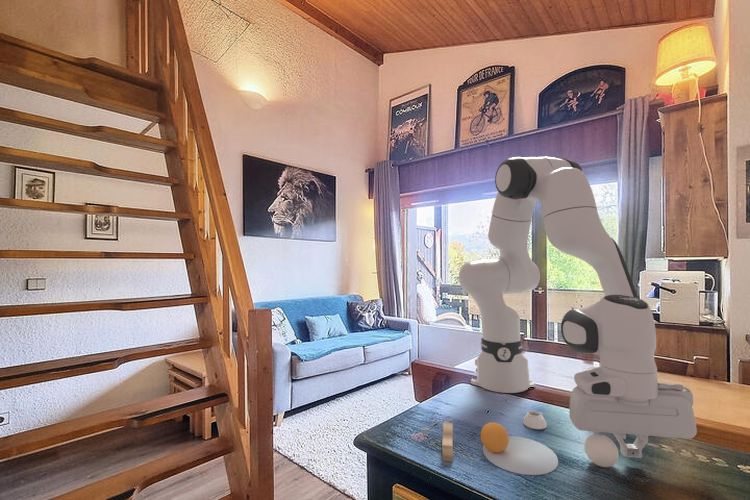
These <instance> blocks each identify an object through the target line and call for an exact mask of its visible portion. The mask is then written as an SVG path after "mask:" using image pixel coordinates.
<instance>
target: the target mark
mask: <svg viewBox="0 0 750 500" xmlns="http://www.w3.org/2000/svg"><path fill="white" fill-rule="evenodd" d="M508 437H509V443H508V446H507V448H506V449H505V450H504V451H502V452H499V453H495V452H491V451H489V450H488V449H487V448H485V446H484V445H483V444H482V452H483V455H484V457H485V458H486V459H487V460H488V461H489V463H491V464H493V465H494V466H495V467H498V468H500V469H503V470H504V471H508V472H510V473H514V474H517V475H526V476H540V475H546V474H549V473H551V472H553V471H554V470H556V469H557V468H558V466H559V458H558V456H557V454H556V453H555V452H554V451H553V450H552V449H551V448H549V447H548V446H546V445H544V444H543V443H541V442H539V441H537V440H533V439H531V438H528V437H527V438H526V437H521V436H514V435H513V436H512V435H508Z"/></svg>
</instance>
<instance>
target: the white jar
mask: <svg viewBox="0 0 750 500" xmlns="http://www.w3.org/2000/svg"><path fill="white" fill-rule="evenodd" d="M522 423H523V425H524V426H526V427H527V428H528V429H529V428H530V429H532V430H544V429H546V428H547V426H548V424H547V422H546V420H545V418H544V416H543V414H542V413H541V412H540V411H537V410H529V411H527V413H526V414H525V416H524V418H523V421H522Z"/></svg>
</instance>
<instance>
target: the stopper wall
mask: <svg viewBox="0 0 750 500" xmlns="http://www.w3.org/2000/svg"><path fill="white" fill-rule="evenodd" d="M442 425H443V426H442V443H441V446H442V447H441V448H442V449H441V450H442V451H441V453H442V461H443V462H450V463H451V462H452V463H453V462H454V433H453V432H454V427H453V425H454V423H453V422H446V421H443V424H442Z"/></svg>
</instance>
